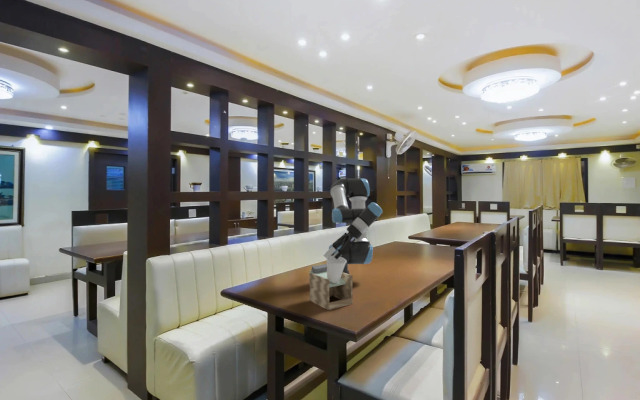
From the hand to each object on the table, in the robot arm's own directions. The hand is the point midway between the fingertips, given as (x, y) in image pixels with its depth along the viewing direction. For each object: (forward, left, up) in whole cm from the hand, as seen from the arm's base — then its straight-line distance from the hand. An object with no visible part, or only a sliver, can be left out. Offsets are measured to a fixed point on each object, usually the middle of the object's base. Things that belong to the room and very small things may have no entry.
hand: (327, 260), depth 154 cm
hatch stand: (-1, +2, -21) cm, 21 cm away
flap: (-4, +2, -10) cm, 11 cm away
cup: (+1, +3, -10) cm, 11 cm away
